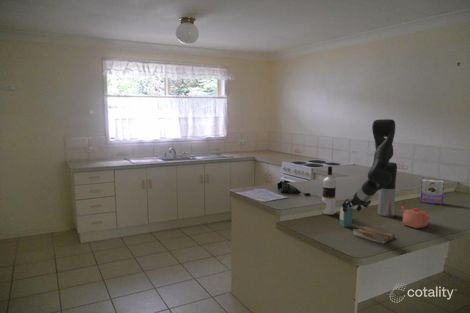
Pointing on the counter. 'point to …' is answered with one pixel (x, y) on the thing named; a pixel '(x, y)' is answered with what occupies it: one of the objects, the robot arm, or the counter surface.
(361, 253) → the counter surface
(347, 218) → the tea box
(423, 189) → the candy box
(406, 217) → the teapot
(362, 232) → the shelf
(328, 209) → the vodka
